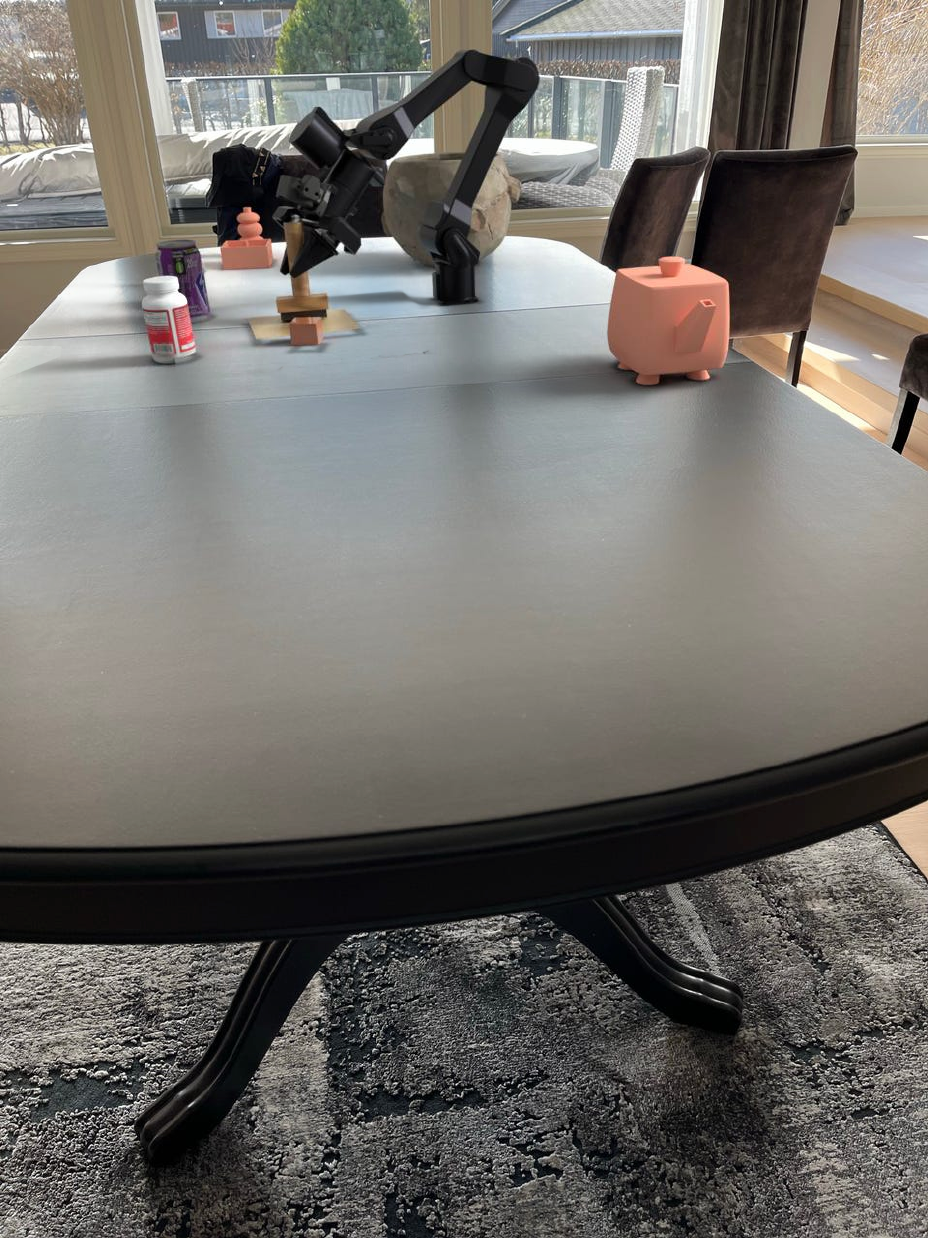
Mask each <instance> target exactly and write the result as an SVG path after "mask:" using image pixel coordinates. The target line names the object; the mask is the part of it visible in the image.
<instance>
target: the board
mask: <svg viewBox="0 0 928 1238" xmlns="http://www.w3.org/2000/svg"><path fill="white" fill-rule="evenodd" d="M247 321H248V323H249V326H250V328H251V330H252V334H253V335H254V337H255V339H256V340H259V339H268V338H280V337H290V330H289V324H290V322H291V321H292V320H281V314H277V315H266V316H254V317H247ZM321 321H322V330H323V333H329V332H338V331H350V330H359V329H361V327H360V325H359V324H358V323H357V322H356V321H355V319H354V318H353V316H351V315H350V313H349V312H348V311H347V309H345V308H341V309H340V308H339V309H327V317H321Z"/></svg>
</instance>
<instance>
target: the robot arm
mask: <svg viewBox="0 0 928 1238" xmlns="http://www.w3.org/2000/svg"><path fill="white" fill-rule="evenodd" d="M540 81H541V77H540V74H539V68H538V67H537V65H536V63H535V62H534V61H533V59H531V58H529V57H527V56H516V57H515V56H513V57H511V56H510V57H500V56H496V55H491V54H487V53H485V52H484V53H483V52H481V51H479V50H477V49H461V50H458V51H456V52H455V53H454V55H453V56H452V58H450V59H449V60H448V61H447V62H445V63H444V64H443V65H442V66H440V67H439V68H438V69H437V70H436V71H434V72H433V73H432V74H431V75H430V76H428V77H427V78H426V79H425V80H424V81H423V82H421V83H420V84H419V85H417V86H416V87H415V88H414V89H412V90H411V91H410V92H409V93H407V94H406V95H405V96H404V97H403V98H402V99H400V100H399V101H397V102H395V103H394V104H392V105H390V106H387V107H384V108H382V109H379V110H377V111H376V112H374V113H372V114H370V115H367V116H366V117H365V118H363V119H361V120H360V121H359V122H358V123H357V124H356V126H355V127H353V128H350V129H343V130H342V129H341V128H340V127H339V126H338V125H337V124H336V122H335V121H333V120H332V119H331V118H330V116H329V115H328V113H327V112H326V111H325V110H324V109H323V108H322V107H321V106H314V107H313V109H312V110H311V112H309V113H308V114H306V115H305V116H304V117H303V118H302V119H301V120H300V121H298V122H296V125H295V126H294V128H292V131H291V132H290V134H289V136H288V143H289V144H290V145H291V146H292V147H293V148H294V149H295V150H296V151H297V152H299V153H300V155H302V157H304V158H305V159H306V161H308V162H309V163H310V164H311V165H312V166H314V167H315V168H316V170H321V169H323V168H325V169H327V170H328V169H331V170H330V171H329V173H328V175H327V176H326V178H325V180H324V181H323V182H321V181H320V178H318V177H316V176H314V175H311V174H305V175H304V176H303V177H302V178H299V177H295V176H290V175H283V174H282V175H281V174H280V178H279V181H278V182H279V183H278V186H277V191H276V195H275V197H276V198H278V199H280V200H286V201H288V202H291V203H293V204H295V205H297V206H296V207H297V208H296V207H292V206H287V205H283V206H277V207H276V210H275V212H274V213H273V214H272V217H271V218H272V219H273V221H275V222H276V223H277V224H278V225H279V226H280V227H281V228H282V229H284V223H290V222H302V226H303V234H304V243H303V245H302V247H301V249H300V251H299V253H298V255H297V257H296V259H295V261H294V263H293V265H292V268H291V270H289V262H288V254H287V246H285V250H284V253H283V257H282V261H281V264H280V268H279V273H281V274H282V275H283V276H287V275H289V277H290V276H291V277H292V278H296V277H298V276H300V275H301V274H303V273H305V272H306V271H308V272H309V271H310V270H311V269H313V268H315V267H317V266H318V265H320V264H322V263H323V262H325V261H327V260H329V259H331V258H333V257H336V256H338V255H339V254H340V252H339V251H338V250H337V249H338V247H339V245H340V244H342V245H343V252H345V254H347V255H352V256H356V254H357V253H358V251H359V250H360V249H361V247H362V236H361V234H359V232H358V231H356V229H354V228H353V227H352V226H351V225H350V224H349V223H348V222H347V219H348V217H349V216H356V215H357V212H358V211H359V210H358V208H356V207H355V206H356V204H357V203H358V201H359V200H360V198H361V197H362V195H363V194H364V192H365V190H366V189H367V188H368V185H369V184H370V185H371V186H372V187H384V185H385V176H384V173H383V170H384V169H383V167H382V166H378V167H376V166H374V165H373V164H371V162H370V161H369V160H368V159H366V158H369V159H374V160H380V161H390V160H391V159H392V158H395V157H396V156H397V154H398V153H400V151H401V150H402V148H404V147H405V145H406V144H407V143H408V141H409V140H410V138H411V137H412V135H413V133H414V131H415V129H417V127H418V126H419V125H420V124H421V123H422V122H423V121H424V120H426V119H427V118H428V117H429V116H431V115H432V114H433V113H434V112H436V111H438V109H439V108H441V107H442V106H443V105H444V104H446V103H447V102H448V101H449V100H450V99H452V97H454V96H455V95H457V93H459V92H460V91H462V89H464V88H465V87H466V86H467V85H469V84H470V83H471V82H473V83H476V84H477V85H482V86H485V88H484V103H483V104H484V105H483V111H482V112H481V113H482V114H481V116H480V118H479V120H478V122H477V125H476V127H475V129H474V131H473V134H472V135H471V138H470V141H469V142H468V145H467V147H466V149H465V151H464V152H465V154H464V156H463V158H462V160H461V163H460V165H459V167H458V169H457V172H456V174H455V176H454V178H453V181H452V183H451V185H450V187H449V190H448V192H447V194H446V195H445V197H444V198H443V199H442V200H441V201H440V202H436V201H433V200H430V201H429V203H428V206H427V210H426V213H425V215H424V217H423V219H422V220H421V221H420V222H419V224H422V226H421V229H420V238H421V242H422V244H423V246H424V247H425V248H426V249H427V250H428V251H429V252H430V255H431V258H432V260H434V261H438V262H435V267H434V271H432V273H431V279H432V297H433V298H434V300H436V301H437V302H438V303H440V304H441V305H443V306H445V305H455V304H465V303H474V302H479V297H477V296H476V272H475V271H476V270H475V269H476V268H475V266H477V265H478V263H479V261H480V260H479V257H480V251H479V250H478V249H477V248H476V247H475V246H474V245H473V244H472V243H471V242H470V241H469V240H468V239H467V238H468V235H469V231H470V228H471V212H472V206H473V204H474V201H475V199H476V197H477V195H478V193H479V190H480V188H481V186H482V184H483V182H484V179H485V177H486V175H487V173H488V171H489V168H490V166H491V164H492V162H493V160H494V157H495V155H496V153H497V154H498V152H499V148H500V146H501V144H502V142H503V140H504V138H505V135H506V133H507V131H508V129H509V126H510V124H511V123H512V122H513V121H514V119H515V118H516V117H517V116H518V115H519V114H521V112H522V111H523V110H524V109H525V108H526V107H527V106H528V104H529V102H530V101H531V99H532V98H533V96H534V95H535V94H536V92H537V91H538V88H539V86H540V85H539V84H540ZM350 148H351V149H357V151H358V152H359V153H360V154H359V155H356V154H355V153H354V152H353V151H352V150H351V149H350ZM478 260H479V261H478Z"/></svg>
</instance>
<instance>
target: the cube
mask: <svg viewBox="0 0 928 1238" xmlns="http://www.w3.org/2000/svg"><path fill="white" fill-rule="evenodd" d="M289 330H290V336H289V338H290V345H291V346H319V345H320V344H321V342H322V341H323V339H324V332H323V330H322V321H321V317H302V318H294V319H293V320H292V321H291V322H290V324H289Z"/></svg>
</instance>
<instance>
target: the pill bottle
mask: <svg viewBox="0 0 928 1238" xmlns="http://www.w3.org/2000/svg"><path fill="white" fill-rule="evenodd" d="M142 284H143V290H144V292H145V293H146V295H145V297H143V298H142V302H141V308H142V312H143V318H144V322H145V327H146V332H147V337H148V341H149V347H150V352H151V355H152V359H153V360H154V361H155V362H156V363H159V364H163V365H167V364H169V365H171V364H176V358H181V357H183V358H184V357H186V356H190V355H193V354H195V353H196V351H197V349H196V342H195V337H194V333H193V332H194V331H193V325H192V320H191V318H190V315H189V309H188V304H187V300H186V298H185V296H184V295H183V294H181V293H179V292H178V289H179V283H178V279H177V277H175V276H159V275H158V276H153V277H149V278H145V279H143V280H142Z"/></svg>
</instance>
